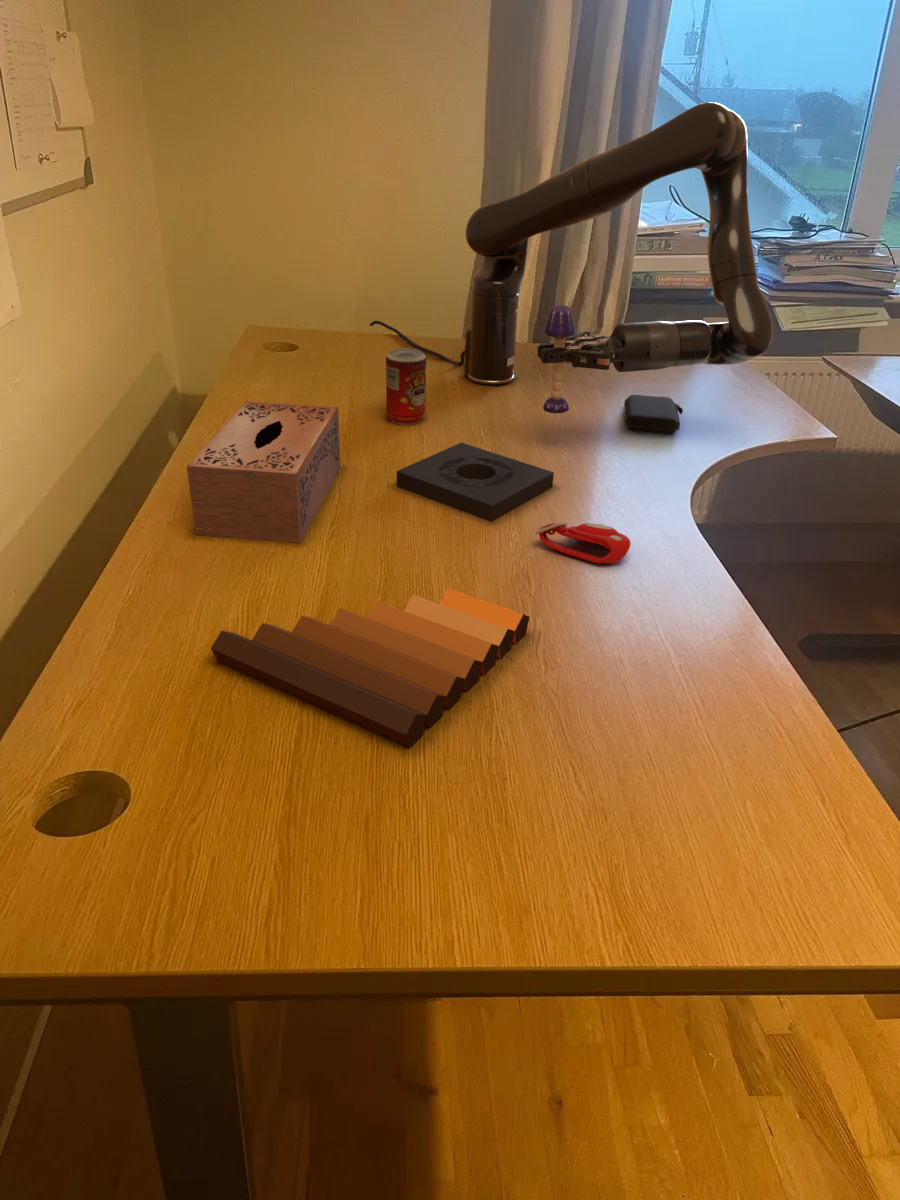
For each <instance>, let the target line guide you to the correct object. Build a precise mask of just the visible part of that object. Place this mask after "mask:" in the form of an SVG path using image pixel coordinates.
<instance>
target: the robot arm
mask: <svg viewBox="0 0 900 1200" xmlns="http://www.w3.org/2000/svg"><path fill="white" fill-rule="evenodd" d="M690 169H697V170H700V171H701V174H702V177H703V180H704V184H705V187H706V190H707V196H708V203H709V226H708V227H709V228H708V236H707V261H708V270H709V275H710V282H711V287H712V288H711V289H712V293H713V294H712V295H713V297H714V300H715V302H716V303H717V304H719V305H722V306H724V310H725V312H726V315H727V320H728V321H724V322H712V323H707V322H706V321H703V320H697V319H696V320H695V319H693V320H691V319H690V320H677V321H676V320H675V321H666V320H665V321H664V320H654V321H653V320H652V321H640V322H627V323H626V322H624V323H618V324H616V325H615V326H614V327H613V330H612V333H611V334H610V335H609V336H608V335H605V334H603V333H594V334H592V335H591V331H589V330H585V331H581V332H577V333H574V334H573V335H572V336H569V337H565V342H564V345H565V348H564V347H558V348H554V345H555V342H554V343H553V342H551V343H540V344H539V345H537V357H538V358H539V360H540V361H541V363H542V364H546V365H547V364H554V363H559V362H563V363H565V364H567V365H571V367H572V368H581V369H592V370H603V371H608V370H610V364H612V365H613V367H614V369H615V371H617V372H618V373H627V372H629V373H630V372H642V371H652V370H653V371H655V370H656V371H657V370H662V369H667V368H673V367H684V366H694V365H695V366H696V365H716V366H719V365H720V366H721V365H722V366H725V365H727V366H728V365H737V364H742V363H745V362H748V361H750V360H752V359H753V360H754V359H755V358H759V357H760V356H762V355H764V354H765V353H766V352H767V351H768V350H769V348H770V346H771V344H772V342H773V335H774V327H773V326H774V325H773V320H772V317H771V313H770V310H769V308H768V305H767V303H766V300H765V297H764V295H763V293H762V291H761V289H760V285H759V280H758V272H757V265H756V258H755V252H754V247H753V240H752V232H751V224H750V213H749V201H748V200H749V199H748V131H747V126H746V124H745V121H744V119H742V118H741V116H740V115H739V114H738V113H736V112H735V111H733V110H732V109H730V108H728V107H726V106H725V105H723V104H721V103H718V102H714V101H713V102H712V101H709V102H703V103H699V104H697V105H693V106H692V107H691V108H688V109H687V110H685V111H683V112H681V113H679V114H678V115H676V116H675V117H673V118H671V119H670V120H669V121H667V122H665V123H663V124H662V125H659V126H658V127H656V128H655V129H653V130H651V131H649V132H648V133H645V134H644V135H641V136H639V137H636V138H634V139H631V140H628V141H626V142H624V143H622V144H620V145H617V146H615V147H613V148H610V149H609V150H606V151H603V152H601V153H598V154H596V155H594V156H591V157H589V158H587V159H585V160H583V161H581V162H579V163H576V164H574V165H572V166H570V167H569V168H566V169H564V170H562V171H561V172H559V173H557V174H555V175H553V176H551V177H549V178H548V179H546V180H544V181H542V182H540V183H539V184H537V185H536V186H534V187H532V188H530V189H528V190H527V191H524V192H522V193H520V194H518V195H514V196H512V197H509V198H506V199H503V200H500V201H497V202H494V203H488V204H485V205H481V206H480V207H477V209H476V210H475V211H474V212H473V213H471V215H470V217H469V218H468V220H467V223H466V226H465V239H466V243H467V245H468V247H469V248H470V249H471V250H472V251H473V252H474V253H475V254H477V255H478V256H481V257H483V258H482V259H483V260H482V263H481V265H480V266H479V269H478V270H477V271H476V272H475V274H474V275H473V277H472V280H471V281H472V282H471V303H470V304H471V306H470V307H471V308H470V309H471V310H470V327H469V328H467V329H466V330H465V345H464V350H463V351H462V352H461V353H460V361H459V362H458V361H454V360H452V359H450V358H448V357H447V356H444V355H443V354H441V353H439V352H436V351H434V350H431V349H429V348H426V347H423V346H421V345H419V344H417V343H415V342H414V341H412V340H411V339H410V338H409V337H408V336H406V335H405V334H404V333H403V332H400V330H398V329H396V328H395V327H393V326H391V325H388V324H387V323H385V322H383V321H381V320H373V321H372V322H370V324H369V326H370V327H373V326H374V325H381V326H382V327H384V328H386V329H388V330H390V331H392V332H394V333H396V334H397V335H398V336H399V337H400V338H402V339H403V340H404V341H406V342H407V343H408V344H409V345H411V346H412V347H414V348H415V349H417V350H420V351H421V352H425V353H427V354H430V355H433V356H435V357H438V358H440V359H442V360H443V361H445V362H448V363H451V364H455V365H457V366H463V365H464V370H463V371H464V373H463V376H464V377H465V378H468V380H469V381H471V382H474V383H477V384H481V385H489V386H497V385H498V386H500V385H506V384H509V383H511V382H513V381H514V377H515V375H514V374H515V373H514V372H515V364H516V343H517V328H518V313H519V298H520V287H521V282H522V281H523V279H524V275H525V270H526V263H527V253H528V244H529V239H530V238H531V237H533V236H536V235H539V234H542V233H545V232H550V231H555V230H558V229H562V228H566V227H570V226H574V225H578V224H581V223H584V222H587V221H590V220H592V219H595V218H597V217H600V216H603V215H605V214H607V213H610V212H612V211H615V210H616V209H618V208H620V207H622V206H623V205H625V204H626V203H628V202H629V201H631V199H633V198H634V197H635V196H636V195H637V194H638V193H640V191H642V190H643V189H644V188H646V187H647V186H648V185H650V184H651V183H653V182H655V181H657V180H660V179H662V178H665V177H668V176H670V175H673V174H676V173H680V172H683V171H687V170H690Z"/></svg>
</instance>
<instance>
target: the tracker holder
mask: <svg viewBox="0 0 900 1200" xmlns="http://www.w3.org/2000/svg"><path fill="white" fill-rule="evenodd" d="M568 525H569V524H568V522H567V521H566V522H556V523H555V522H554V523H553V522H552V523H551V522H549V523H546V524H544V525H541V526H539V527H538V528H537V530H535V535H538V536H539V539H540V541H541V542H542V543H543V544H544V545H546V546H547V547H549V548H551V549H553V550H555V551H558V552H561V553H562V554H565V555H569V556H572V557H575V558H579V559H582V560H585V561H588V562H590V563H591V562H592V563H595V564H596V563H597V564H615V563H618V562H619V561H621V560H623V558H625V556H626V555H627V553H628V552H629V550H630V548H631V539H630V538H629V537H628V536H627V535H626V534H623V533H621V532H618V530H617V529H615V528H613V527H611V526H609V525H604V524H601V523H600V524H599V523H590V522H585V523H581V524H578V525H577V526H568ZM567 526H568V527H567ZM556 533H557V534H559V535H560V536H562V537H565V538H570V539H573V540H577V541H584V542H588V543H592V544H597V545H600V546H603V547H604V548H607V549H608V550H609V551H610V552H608V553H607V555H605V556H603V557H602V556H597V555H594V554H591V553H587V552H585V551H581V550H577V549H575V548H571V547H568V546H565V545H562V544H559V543H557V542H555V541H554V540H551V538H549V537H548V535H549V536H554V535H556Z"/></svg>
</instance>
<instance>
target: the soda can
mask: <svg viewBox="0 0 900 1200" xmlns="http://www.w3.org/2000/svg"><path fill="white" fill-rule="evenodd" d="M426 369H427V355H426V354H425V353H424V351H422V350H420V349H418V348H411V347H398V348H393V349H392V350H390V351H389V352H388V353H387V354H386V355H385V371H386V372H385V386H386V387H385V392H386V393H385V395H386V396H385V401H386V402H385V403H386V404H385V406H386V407H385V409H386V413H387V414H388V416H389V420H390V422H391V423H393V424H397V425H402V426H408V425H409V426H411V425H417V424H419V423H420V422H422V418H423V416H424V415H425V413H426V409H427V408H426V405H427V404H426V401H427V399H426V398H427V373H426V372H427V370H426Z"/></svg>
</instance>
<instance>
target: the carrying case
mask: <svg viewBox="0 0 900 1200" xmlns="http://www.w3.org/2000/svg"><path fill="white" fill-rule="evenodd" d="M623 408H624V425H625V426H626V427H627V429H628V430H629V431H631V432H634V433H645V434H656V435H668V436H669V435H673V434H674V433H676V432H677V431H679V430H680V427H681V422H680V416H679V414H680V415H683V412H684V410H683V409H684V408H682V407H681V406H680V405H679V404H678V403H676V402H675V401H674V400H673V399H672V398H670V397H667V396H654V395H644V394H643V395H642V394H631V395H629V396H628V397H627V398H625V400H624V405H623Z"/></svg>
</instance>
